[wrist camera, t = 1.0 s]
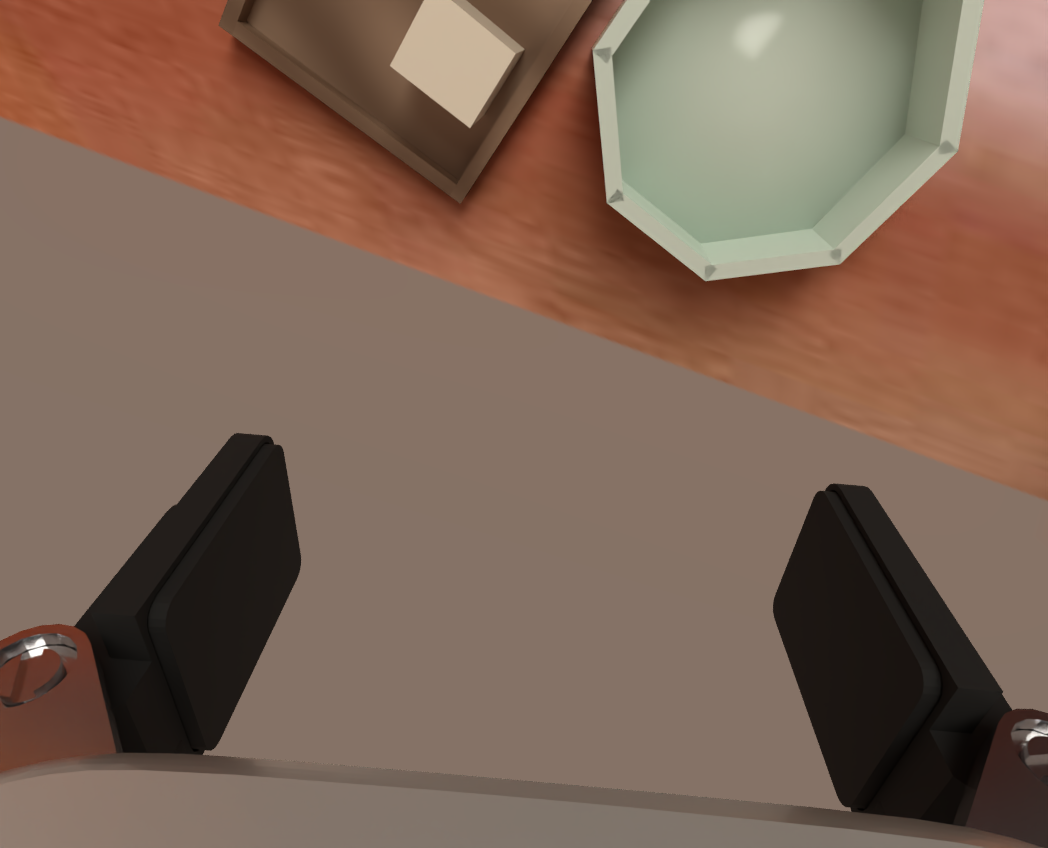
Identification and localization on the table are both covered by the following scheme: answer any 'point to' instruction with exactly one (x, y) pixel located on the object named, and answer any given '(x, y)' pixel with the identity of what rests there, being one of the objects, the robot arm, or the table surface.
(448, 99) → the beige upright box
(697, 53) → the celadon bowl
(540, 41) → the walnut tray
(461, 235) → the table surface
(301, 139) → the table surface
